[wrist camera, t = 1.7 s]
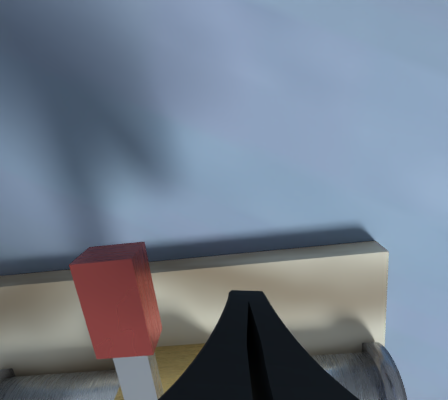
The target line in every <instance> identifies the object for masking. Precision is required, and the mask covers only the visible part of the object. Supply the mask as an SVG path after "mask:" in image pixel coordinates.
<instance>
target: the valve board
mask: <svg viewBox="0 0 448 400" xmlns="http://www.w3.org/2000/svg"><path fill="white" fill-rule="evenodd" d="M388 256H389V251H387V250H386V249H385V248H384V247H383V246H381V245H380V244H379V243H378V242H376V241H367V242H357V243H346V244H335V245H325V246H314V247H303V248H293V249H282V250H271V251H261V252H250V253H239V254H229V255H218V256H207V257H197V258H186V259H175V260H165V261H154V262H149V267H150V271H151V276H152V281H153V286H154V290H155V295H156V300H157V305H158V310H159V314H160V319H161V324H162V331H161V334H160V337H159V340H158V343H157V346H156V347H160V346H173V345H187V344H200V343H206V342H207V340H208V338H209V337H210V335H211V333H212V331H213V330H214V328H215V326H216V324H217V323H218V320H219V318H220V316H221V314H222V312H223V310H224V307H225V305H226V302H227V299H228V294H229V292H230V291H231V290H245V291H263V292H264V294H265V295H266V297H267V299H268V301H269V302H270V304H271V305H272V307H273V309H274V310H275V312H276V313H277V315H278V316H279V318H280V319H281V320H282V322H283V323H284V324H285V326H286V327H287V328H288V330H289V331H290V332H291V334H292V335H293V336H294V337H295V339H296V340H297V341H298V342H299V343H300V345H301V346H302V347H303V348H304V349H305V350H306V351H307V352H308V353H309V355H310V356H315V355H329V354H343V353H357V352H362V343H367V342H379V343H380V344H382V345H383V346H384V347H385V325H386V302H387V279H388ZM9 368H12V369H13V371H14V374H15V376H16V377H18V376H32V375H46V374H60V373H74V372H88V371H103V370H116V368H115V365H114V361H113V358H108V359H96V355H95V352H94V349H93V345H92V342H91V338H90V335H89V332H88V328H87V325H86V321H85V318H84V315H83V311H82V308H81V304H80V301H79V298H78V294H77V291H76V288H75V284H74V281H73V277H72V274H71V271H70V269H69V270H58V271H48V272H37V273H26V274H16V275H5V276H0V369H9Z"/></svg>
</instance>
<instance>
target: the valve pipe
mask: <svg viewBox="0 0 448 400" xmlns="http://www.w3.org/2000/svg"><path fill="white" fill-rule="evenodd" d="M204 345H205V343H200V344H187V345H173V346H160V347H156V349H155V356H156V360H157V365H158V369H159V374H160V378H161V383H162V387H163V391H164V393H165V392H166V391H167V390H168V389H169V388H170V387H171V386H172V385H173V384H174V383H175V382H176V381H177V379H178V378H179V377H180V376H181V375H182V374H183V373H184V371H185V370H186V369H187V368H188V366H189V365H190V364H191V363H192V361H193V360H194V359H195V357H196V356H197V355H198V353H199V352H200V351H201V349H202V348H203V346H204ZM311 357H312V358H313V359H314V360H315V361H316V362H317V363H318V364H319V365H320V366H321V367H322V368H323V369H324V370H325V371H326V372H327V373H329V374H330V375H331V376H332V377H333V378H334V379H335V380H337V381H338V382H339V383H340V384H341V385H342V386H344V387H345V388H346V389H347V390H348V391H350V392H351V393H352V394H353V395H354V396H356V397H357V398H358V399H360V400H407V397H406V392H405V388H404V385H403V382H402V379H401V376H400V374H399V371H398V369H397V367H396V365H395V363H394V361H393V359H392V357H391V355H390V354H389V352H388V351H387V350H386V348H385V347H384V346H383V345H382V344H380V343H379V342H367V343H362V352H357V353H343V354H329V355H315V356H311ZM0 400H124V397H123V394H122V390H121V386H120V383H119V379H118V376H117V372H116V370H103V371H88V372H74V373H60V374H46V375H32V376H18V377H16V376H15V374H14V371H13V369H12V368H9V369H0Z"/></svg>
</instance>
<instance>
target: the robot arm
mask: <svg viewBox="0 0 448 400" xmlns="http://www.w3.org/2000/svg"><path fill="white" fill-rule="evenodd" d="M158 400H360V399H358V398H357V397H356V396H354V395H353V394H352V393H351V392H350V391H348V390H347V389H346V388H345V387H344V386H342V385H341V384H340V383H339V382H338V381H337V380H335V379H334V378H333V377H332V376H331V375H330V374H329V373H327V372H326V371H325V370H324V369H323V368H322V367H321V366H320V365H319V364H318V363H317V362H316V361H315V360H314V359H313V358H312V357H311V356H310V355H309V353H308V352H307V351H306V350H305V349H304V348H303V347H302V346H301V345H300V343H299V342H298V341H297V340H296V339H295V337H294V336H293V335H292V334H291V332H290V331H289V330H288V328H287V327H286V326H285V324H284V323H283V322H282V320H281V319H280V318H279V316H278V315H277V313H276V312H275V310H274V309H273V307H272V305H271V304H270V302H269V301H268V299H267V297H266V295H265V294H264V292H263V291H245V290H231V291H230V292H229V294H228V299H227V302H226V305H225V307H224V310H223V312H222V314H221V316H220V318H219V320H218V323H217V324H216V326H215V328H214V330H213V331H212V333H211V335H210V337H209V338H208V340H207V342H206V343H205V345H204V346H203V348H202V349H201V351H200V352H199V353H198V355H197V356H196V357H195V359H194V360H193V361H192V363H191V364H190V365H189V366H188V368H187V369H186V370H185V371H184V373H183V374H182V375H181V376H180V377H179V378H178V379H177V381H176V382H175V383H174V384H173V385H172V386H171V387H170V388H169V389H168V390H167V391H166V392H165V393H164V394H163V395H162V396H161V397H160V398H159V399H158Z"/></svg>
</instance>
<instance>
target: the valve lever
mask: <svg viewBox="0 0 448 400" xmlns="http://www.w3.org/2000/svg"><path fill="white" fill-rule="evenodd" d="M69 267H70V271H71V274H72V277H73V281H74V284H75V288H76V291H77V294H78V298H79V301H80V304H81V308H82V311H83V315H84V318H85V321H86V325H87V328H88V332H89V335H90V338H91V342H92V345H93V349H94V352H95V355H96V359H108V358H113V361H114V365H115V368H116V372H117V376H118V379H119V383H120V386H121V390H122V394H123V397H124V400H158V399H159V398H160V397H161V396H162V395H163V394H164V391H163V387H162V383H161V378H160V374H159V369H158V365H157V360H156V356H155V349H156V346H157V343H158V340H159V337H160V334H161V331H162V324H161V319H160V314H159V310H158V305H157V300H156V295H155V290H154V286H153V281H152V276H151V271H150V267H149V262H148V257H147V252H146V248H145V243H144V242H137V243H127V244H117V245H107V246H97V247H89V248H88V249H87V250H86V251H84V252H83V253H82V254H81V255H80V256H79V257H77V258H76V259H75V260H74V261H73V262H72V263H70V264H69Z"/></svg>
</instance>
